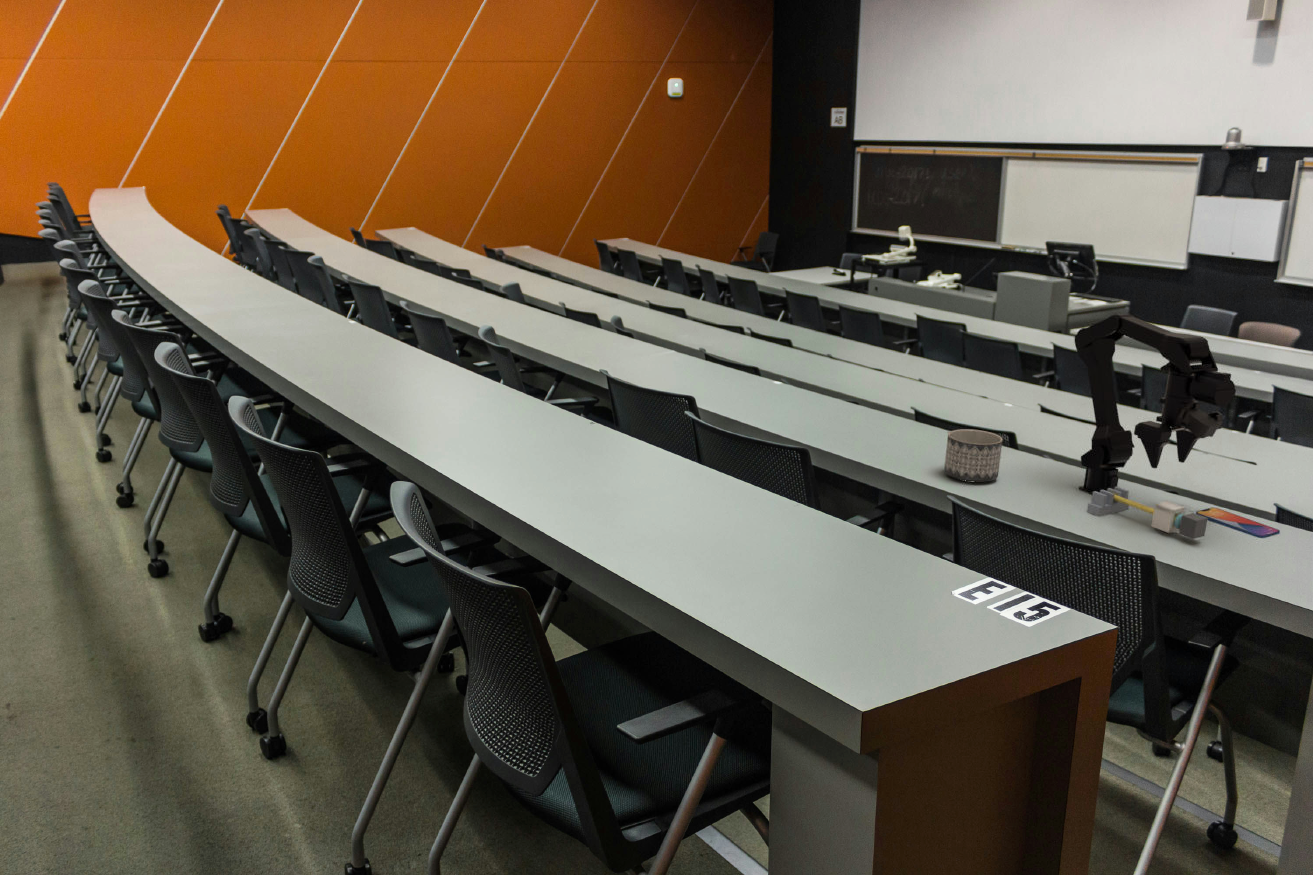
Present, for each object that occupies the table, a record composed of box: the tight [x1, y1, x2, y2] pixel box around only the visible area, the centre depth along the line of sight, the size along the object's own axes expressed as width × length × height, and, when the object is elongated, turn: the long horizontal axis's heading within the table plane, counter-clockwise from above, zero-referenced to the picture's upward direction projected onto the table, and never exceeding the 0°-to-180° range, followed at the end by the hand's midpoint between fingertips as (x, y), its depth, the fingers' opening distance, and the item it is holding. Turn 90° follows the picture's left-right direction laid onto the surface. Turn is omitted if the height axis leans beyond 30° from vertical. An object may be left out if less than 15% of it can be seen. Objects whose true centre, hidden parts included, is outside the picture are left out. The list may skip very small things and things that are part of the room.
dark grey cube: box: [1178, 512, 1209, 540], centre depth 196 cm, size 4×4×4 cm
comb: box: [1086, 486, 1130, 517], centre depth 213 cm, size 3×10×5 cm, turn 118°
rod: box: [1113, 494, 1176, 522], centre depth 205 cm, size 20×1×1 cm, turn 28°
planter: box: [943, 428, 1004, 483], centre depth 233 cm, size 13×13×10 cm
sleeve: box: [1151, 500, 1186, 534], centre depth 201 cm, size 4×4×5 cm
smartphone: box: [1195, 507, 1280, 539], centre depth 207 cm, size 7×15×1 cm, turn 29°
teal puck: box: [1174, 513, 1185, 529], centre depth 198 cm, size 1×3×3 cm, turn 118°
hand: (1167, 465), depth 207 cm, fingers open, 9 cm apart
